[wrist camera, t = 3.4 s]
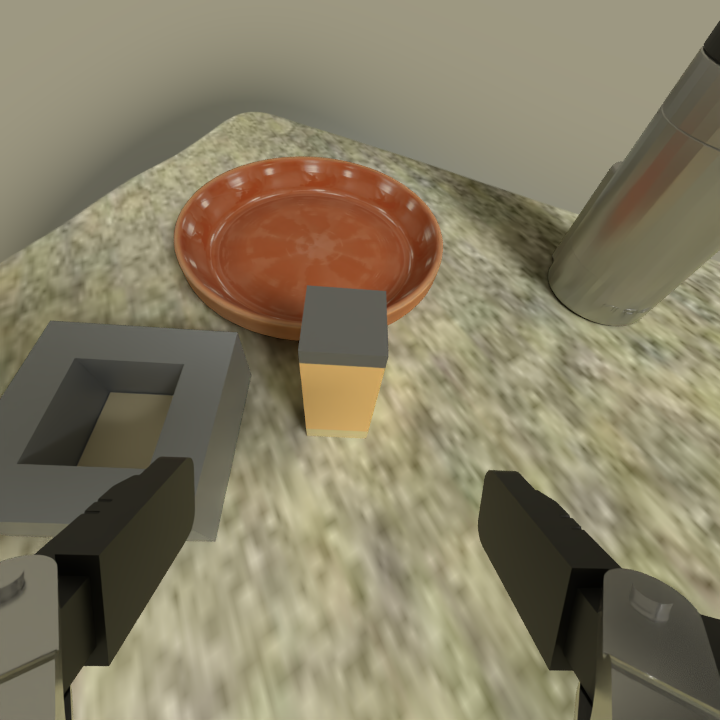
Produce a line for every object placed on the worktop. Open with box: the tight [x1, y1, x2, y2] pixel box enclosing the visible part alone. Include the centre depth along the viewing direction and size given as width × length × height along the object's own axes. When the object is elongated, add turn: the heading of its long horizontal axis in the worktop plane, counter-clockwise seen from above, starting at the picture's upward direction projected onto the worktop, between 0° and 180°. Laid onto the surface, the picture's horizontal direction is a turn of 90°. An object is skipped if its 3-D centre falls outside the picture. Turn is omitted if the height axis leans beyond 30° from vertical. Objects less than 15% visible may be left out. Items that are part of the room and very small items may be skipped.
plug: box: [298, 285, 388, 438], centre depth 21 cm, size 4×4×10 cm
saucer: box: [174, 157, 443, 341], centre depth 32 cm, size 23×23×4 cm
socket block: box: [0, 321, 251, 541], centre depth 21 cm, size 11×11×5 cm
